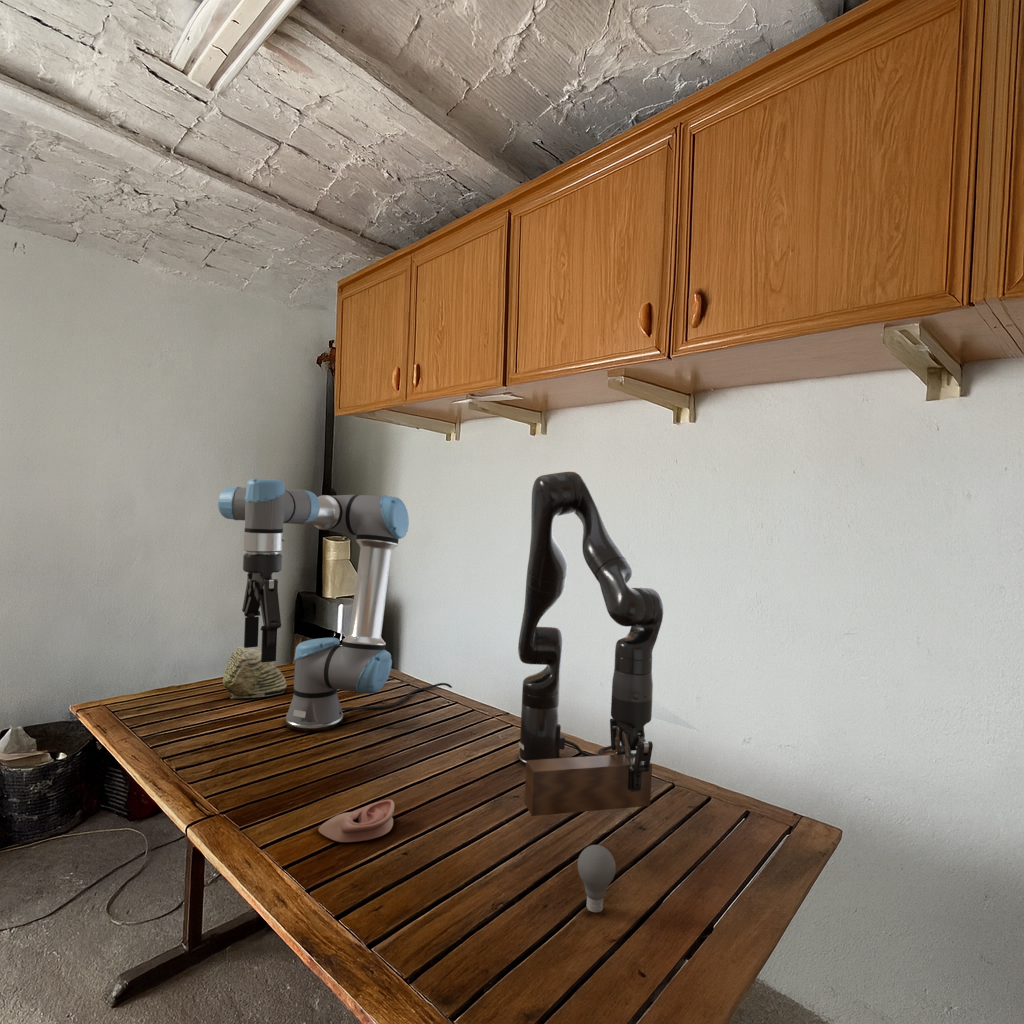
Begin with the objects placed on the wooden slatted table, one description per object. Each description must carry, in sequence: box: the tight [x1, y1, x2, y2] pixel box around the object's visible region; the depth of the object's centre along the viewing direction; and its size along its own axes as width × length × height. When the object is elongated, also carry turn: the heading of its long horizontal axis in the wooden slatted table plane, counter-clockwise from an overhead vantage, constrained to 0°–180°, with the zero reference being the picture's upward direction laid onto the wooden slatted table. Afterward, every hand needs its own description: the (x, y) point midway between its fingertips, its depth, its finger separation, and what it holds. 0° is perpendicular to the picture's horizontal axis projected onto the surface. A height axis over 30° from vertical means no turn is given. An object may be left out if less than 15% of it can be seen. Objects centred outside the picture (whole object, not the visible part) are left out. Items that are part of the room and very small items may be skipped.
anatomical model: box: [317, 799, 395, 843], centre depth 122 cm, size 13×4×12 cm
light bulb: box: [577, 844, 617, 913], centre depth 100 cm, size 6×6×10 cm
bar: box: [523, 754, 653, 817], centre depth 117 cm, size 23×5×8 cm, turn 105°
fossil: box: [222, 646, 288, 699], centre depth 198 cm, size 9×18×15 cm, turn 132°
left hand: (259, 654), depth 132 cm, fingers open, 13 cm apart
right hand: (627, 783), depth 119 cm, fingers closed on bar, 5 cm apart
